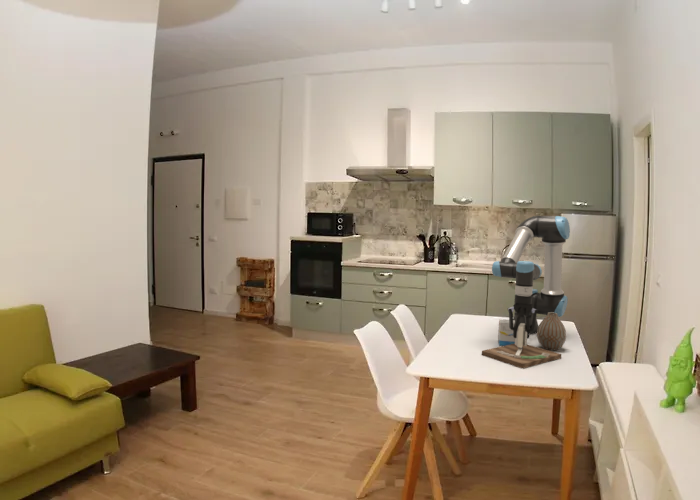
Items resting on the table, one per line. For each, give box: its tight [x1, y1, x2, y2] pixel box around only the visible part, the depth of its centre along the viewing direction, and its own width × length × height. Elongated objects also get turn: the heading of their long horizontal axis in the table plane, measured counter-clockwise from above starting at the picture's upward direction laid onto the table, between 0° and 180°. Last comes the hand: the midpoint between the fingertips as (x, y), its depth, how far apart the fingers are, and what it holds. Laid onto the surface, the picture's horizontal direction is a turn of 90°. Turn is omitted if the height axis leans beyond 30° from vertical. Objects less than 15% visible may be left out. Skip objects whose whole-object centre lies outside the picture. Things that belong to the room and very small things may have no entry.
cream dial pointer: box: [515, 323, 525, 357], centre depth 219 cm, size 16×2×12 cm, turn 154°
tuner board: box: [481, 344, 562, 369], centre depth 220 cm, size 28×22×2 cm
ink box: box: [497, 318, 518, 347], centre depth 241 cm, size 9×8×12 cm
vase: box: [536, 312, 567, 351], centre depth 235 cm, size 13×13×18 cm
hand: (520, 345), depth 223 cm, fingers closed on cream dial pointer, 3 cm apart
